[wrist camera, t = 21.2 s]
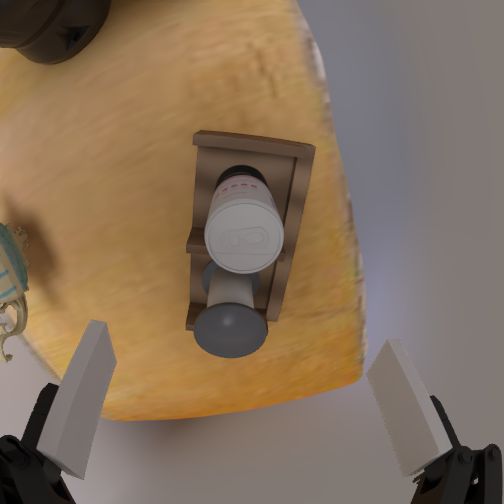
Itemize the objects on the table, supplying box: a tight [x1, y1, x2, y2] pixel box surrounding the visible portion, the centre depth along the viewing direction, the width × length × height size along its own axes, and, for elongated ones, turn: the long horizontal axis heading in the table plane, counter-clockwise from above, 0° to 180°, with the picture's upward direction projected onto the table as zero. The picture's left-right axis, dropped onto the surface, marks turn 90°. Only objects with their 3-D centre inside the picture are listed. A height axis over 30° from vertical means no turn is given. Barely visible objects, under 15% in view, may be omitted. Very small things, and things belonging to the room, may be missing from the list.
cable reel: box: [194, 259, 267, 358], centre depth 37 cm, size 8×8×12 cm
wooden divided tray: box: [186, 130, 316, 336], centre depth 37 cm, size 27×14×6 cm, turn 172°
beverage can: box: [204, 165, 284, 274], centre depth 30 cm, size 6×6×15 cm
